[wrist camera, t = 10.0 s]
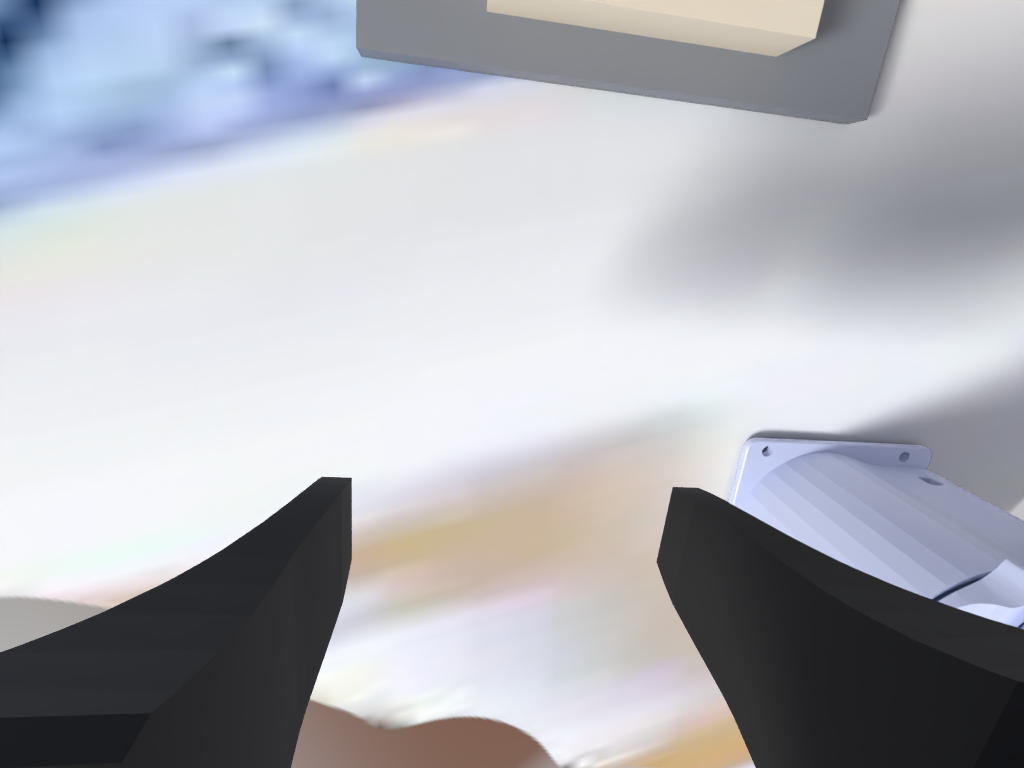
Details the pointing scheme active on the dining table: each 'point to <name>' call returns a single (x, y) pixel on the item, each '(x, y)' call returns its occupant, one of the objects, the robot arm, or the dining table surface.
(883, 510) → the robot arm
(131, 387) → the dining table surface
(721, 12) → the base board
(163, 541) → the dining table surface
